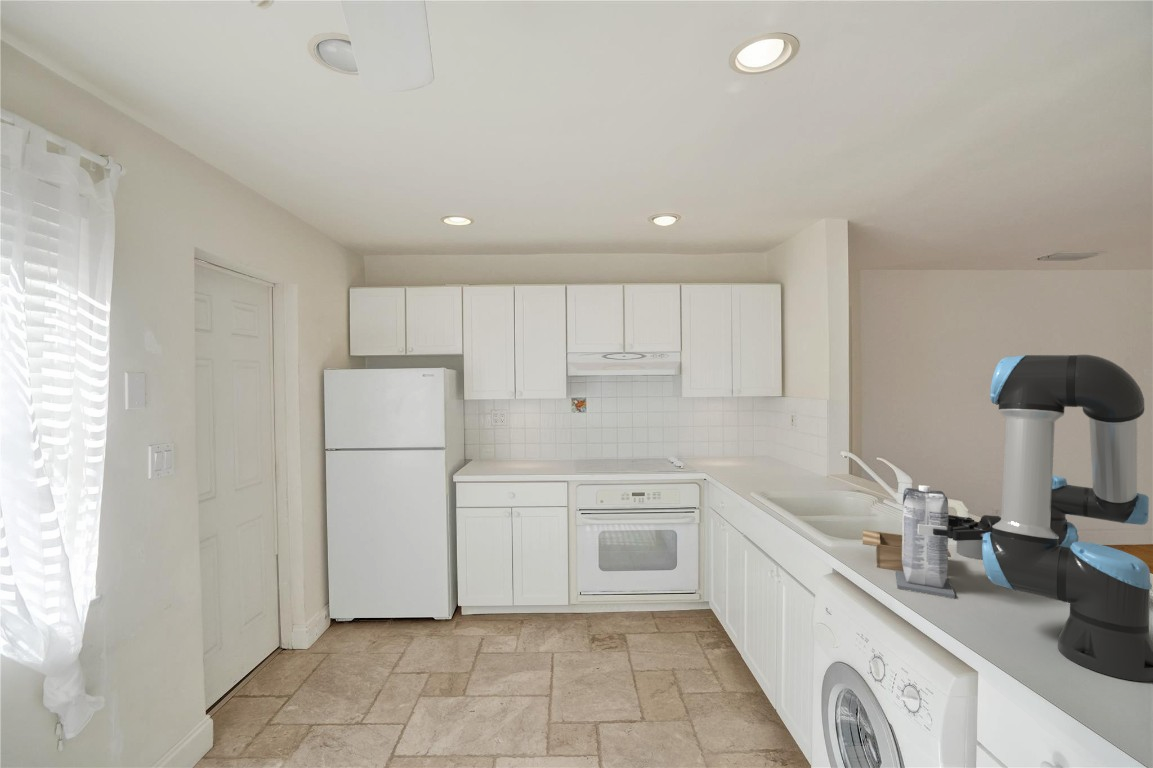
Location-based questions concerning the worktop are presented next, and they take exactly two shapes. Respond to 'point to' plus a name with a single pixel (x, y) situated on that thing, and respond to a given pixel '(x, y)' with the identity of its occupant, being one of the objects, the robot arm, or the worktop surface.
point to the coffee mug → (970, 548)
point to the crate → (886, 549)
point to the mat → (924, 586)
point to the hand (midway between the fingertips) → (911, 522)
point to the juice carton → (924, 537)
